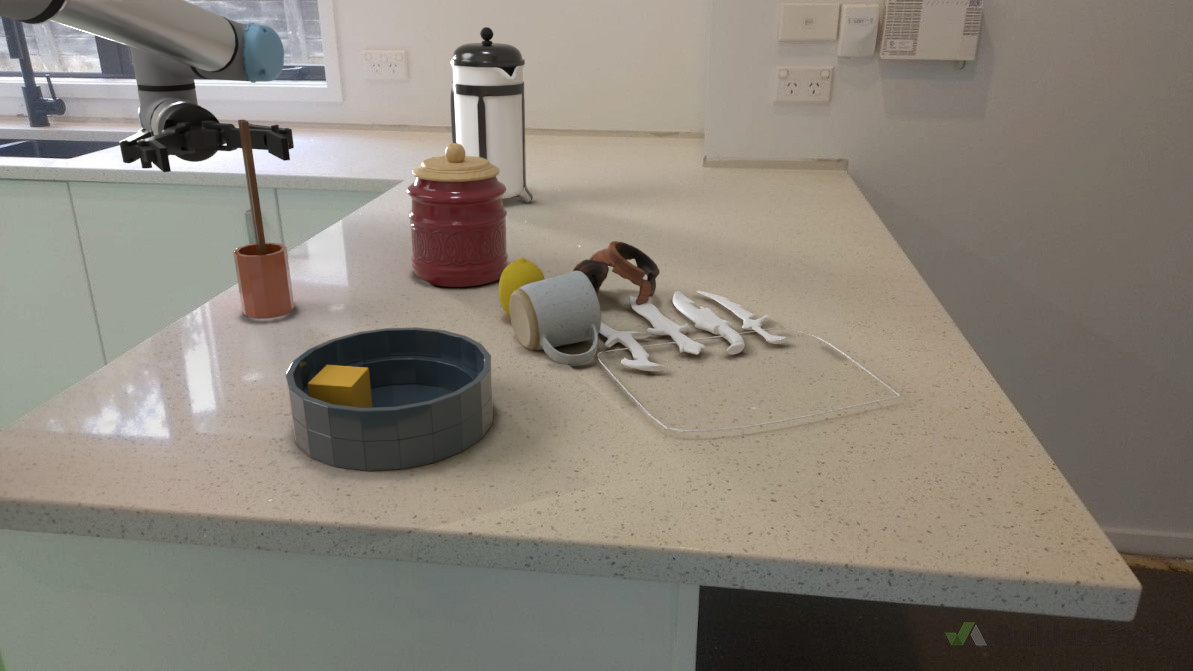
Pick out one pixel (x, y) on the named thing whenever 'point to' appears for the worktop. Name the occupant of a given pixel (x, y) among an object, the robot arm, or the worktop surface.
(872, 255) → the worktop surface
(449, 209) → the kitchen canister
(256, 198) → the chopsticks
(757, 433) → the worktop surface
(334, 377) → the block
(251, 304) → the holder
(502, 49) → the coffee press
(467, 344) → the bowl
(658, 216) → the worktop surface
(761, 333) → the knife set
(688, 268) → the worktop surface
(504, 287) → the lemon
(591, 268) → the broken clay pot
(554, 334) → the ceramic mug
